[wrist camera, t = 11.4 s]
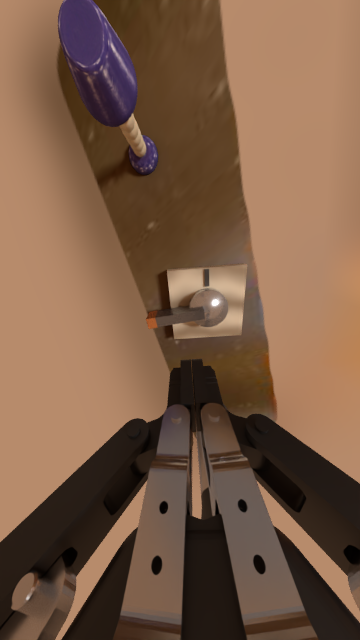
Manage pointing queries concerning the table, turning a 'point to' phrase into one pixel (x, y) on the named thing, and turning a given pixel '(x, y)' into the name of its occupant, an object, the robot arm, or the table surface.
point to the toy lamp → (104, 75)
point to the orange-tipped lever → (193, 311)
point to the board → (216, 277)
